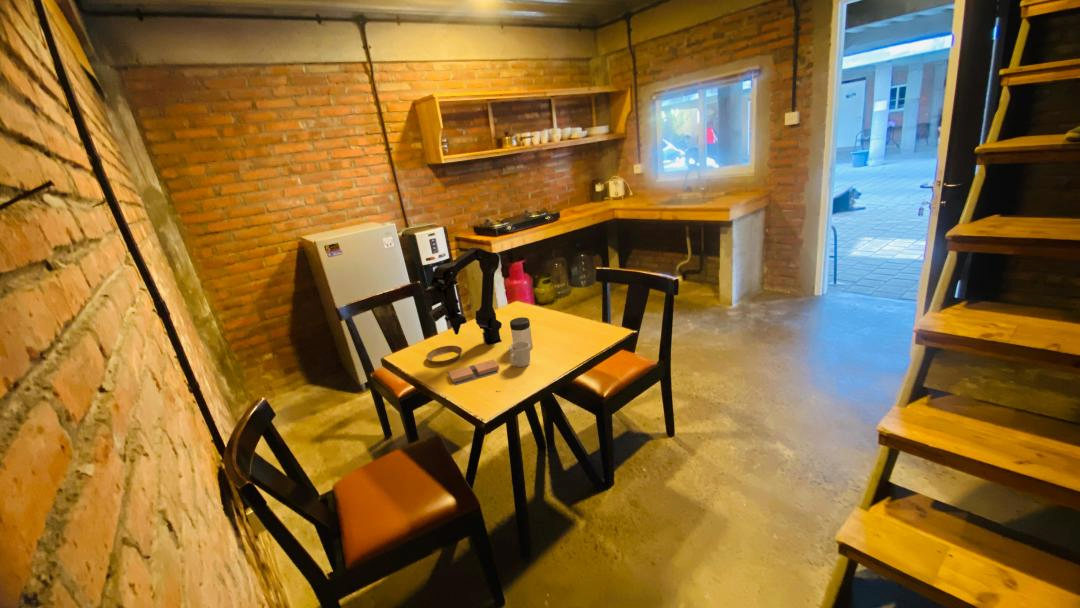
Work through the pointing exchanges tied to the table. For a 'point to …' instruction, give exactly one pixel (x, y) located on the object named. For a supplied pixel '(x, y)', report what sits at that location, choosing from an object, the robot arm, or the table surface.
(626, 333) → the table surface
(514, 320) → the jar
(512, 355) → the cup
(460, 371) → the tile
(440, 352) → the brown ring
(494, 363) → the tile
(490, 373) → the mat
